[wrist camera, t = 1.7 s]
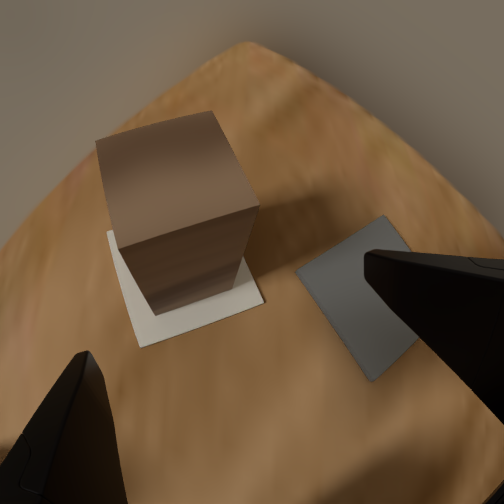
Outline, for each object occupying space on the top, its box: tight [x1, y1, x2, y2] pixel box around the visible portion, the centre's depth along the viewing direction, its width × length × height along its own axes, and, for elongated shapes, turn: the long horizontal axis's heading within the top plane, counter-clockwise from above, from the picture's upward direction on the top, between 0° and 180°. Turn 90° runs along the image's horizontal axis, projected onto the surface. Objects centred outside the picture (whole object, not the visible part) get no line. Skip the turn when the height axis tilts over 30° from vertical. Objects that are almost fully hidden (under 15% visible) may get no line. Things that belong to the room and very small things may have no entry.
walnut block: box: [95, 111, 260, 316], centre depth 18 cm, size 6×6×11 cm
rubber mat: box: [295, 215, 419, 381], centre depth 24 cm, size 10×10×1 cm
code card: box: [107, 230, 264, 348], centre depth 23 cm, size 9×9×1 cm
